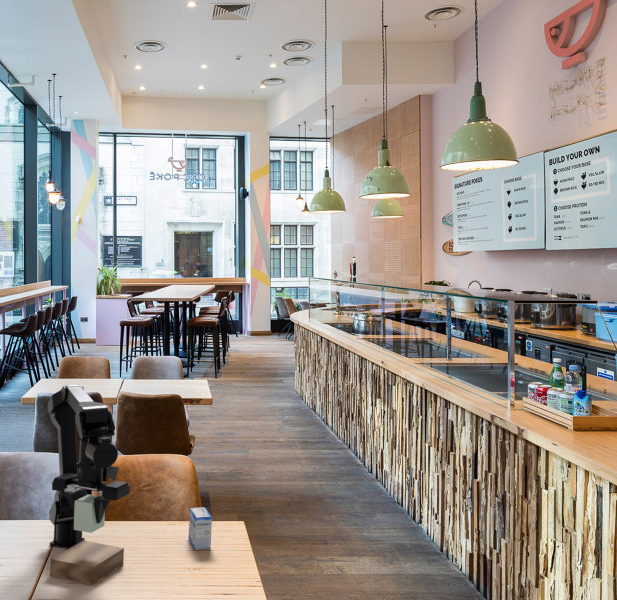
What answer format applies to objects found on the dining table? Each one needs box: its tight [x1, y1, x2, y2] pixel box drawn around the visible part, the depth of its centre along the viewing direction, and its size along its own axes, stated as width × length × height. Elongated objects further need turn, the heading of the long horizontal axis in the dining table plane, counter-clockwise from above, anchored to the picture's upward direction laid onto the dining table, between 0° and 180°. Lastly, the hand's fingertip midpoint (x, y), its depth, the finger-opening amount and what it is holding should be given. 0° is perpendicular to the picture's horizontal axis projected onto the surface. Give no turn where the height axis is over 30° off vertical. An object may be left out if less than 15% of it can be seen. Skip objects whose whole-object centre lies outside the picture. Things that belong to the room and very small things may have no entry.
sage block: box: [74, 494, 106, 534], centre depth 154 cm, size 5×5×7 cm
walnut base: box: [49, 540, 125, 586], centre depth 154 cm, size 12×12×4 cm
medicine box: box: [188, 507, 213, 551], centre depth 172 cm, size 8×4×9 cm, turn 23°
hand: (89, 521), depth 154 cm, fingers closed on sage block, 5 cm apart
